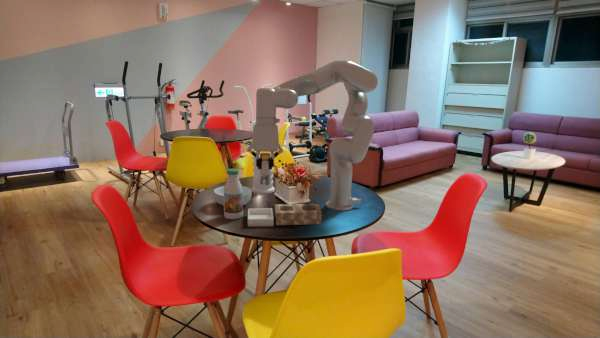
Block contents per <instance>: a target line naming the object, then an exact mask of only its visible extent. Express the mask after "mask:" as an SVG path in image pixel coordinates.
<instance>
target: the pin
mask: <svg viewBox="0 0 600 338" xmlns="http://www.w3.org/2000/svg"><path fill="white" fill-rule="evenodd" d="M270 154H271V152H260V184H261V185H269V184H270Z"/></svg>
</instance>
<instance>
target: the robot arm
mask: <svg viewBox="0 0 600 338" xmlns="http://www.w3.org/2000/svg"><path fill="white" fill-rule="evenodd" d="M338 83H343V86H344V87H345V90H346V92H347V96H348V102H347V106H346V109H345V113H344V115H343V118H342V121H341V123H340V130H341V133H343V134H345V135H346V136H350V137H351V138H349V137H344V136H338V137H335V138H334V139H333V140H332V141H331V142H330V143H329V144H330V145H329V157H330V181H329V200H328V201H326V202H325V207H326V208H327V209H330V210H334V211H339V212H342V211H343V212H345V211H350V210H352V209H353V208H354V204H362V199H361V198H357V197H352V183H353V181H352V180H353V164H359V163H361V162H362V161H363V160H364V159H365V158H366V155H367V153H368V150H369V147H370V145H371V142H372V139H373V137H374V134H375V124H374V123H375V122H374V120H373V119H372V118H371V117H369V116H367V115H366V113H367V110H368V106H369V101H368V96H367V93H372V92H374V91H375V90H376V88H377V86H378V83H379V81H378V76H377V75H376V74H375V73H374V72H373V71H371V70H369V69H368V68H365V67H364V66H362V65H360V64H357V63H355V62H353V61H350V60H333V61H332V62H329V63H327V64H324V65H323V66H320V67H319V68H317V69H314V70H313V71H311V72H309V73H306V74H303V75H301V76H298V77H295V78H293V79H289V80H287V81H285V82H283V83H280V84H278V85H277V86H274V87H273V88H268V87H267V88H264V87H263V88H262V87H260V88H257V89H256V94H255V95H256V97H255V99H256V101H255V103H256V104H255V124H253V127H252V134H251V135H252V136H251V137H252V139H251V143H250V144H249V146H248V148H247V149H246V151H247V153H249V154H250V155H252V156H254V157H255V158H256V167H258V169H260V157H259V155H260V153H261V152H262V153H270V154H271V158H270V169H272V167H273V168H275V167H274V166H275V165H274V164H275V159H276V158H277V157H278V156H279V155H280V154H282V153H284V149H283V148H282V146H281V144H280V143H279V142H280V141H279V126H278V125H277V124H278V123H280V122H281V121H280V118H277V108H280V109H284V110H285V109H287V110H288V109H293V108H294V107H296V105H298V103H299V97H302V96H311V95H312V96H313V95H315V94H319V93H321V92H323V91H324V90H326V89H329V88H330V87H333V86H335V84H338Z"/></svg>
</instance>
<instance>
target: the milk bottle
mask: <svg viewBox="0 0 600 338" xmlns="http://www.w3.org/2000/svg"><path fill="white" fill-rule="evenodd" d="M226 176H227V179H226V182H225V184H224V185H223V186H224V206H223V214H224V215H223V216H224V218H225V219H227V220H239V219H241V218H242V217H243V216H244V205H243V190H242V186H243V184H241V182H240V179H239V169H238V168H228V169H227V170H226Z"/></svg>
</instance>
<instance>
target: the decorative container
mask: <svg viewBox="0 0 600 338" xmlns="http://www.w3.org/2000/svg"><path fill="white" fill-rule="evenodd" d="M259 157H260V155H259ZM251 158H252V159H253V162H252V164H253V168H252V172H253V175H252V177H253V181H252V183H253V186H252V187H251V190H252V192H253V193H254V194H259V195H268V194H272V193H274V192H275V189H276V188H275V187H274V186H273V185H274V180H273V179H274V174H273V173H274V167H272V169H270V184H269V185H261V184H260V169H258V167H256V158H255V157H254V156H253V155H252V157H251ZM270 158H271V153H270Z"/></svg>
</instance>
